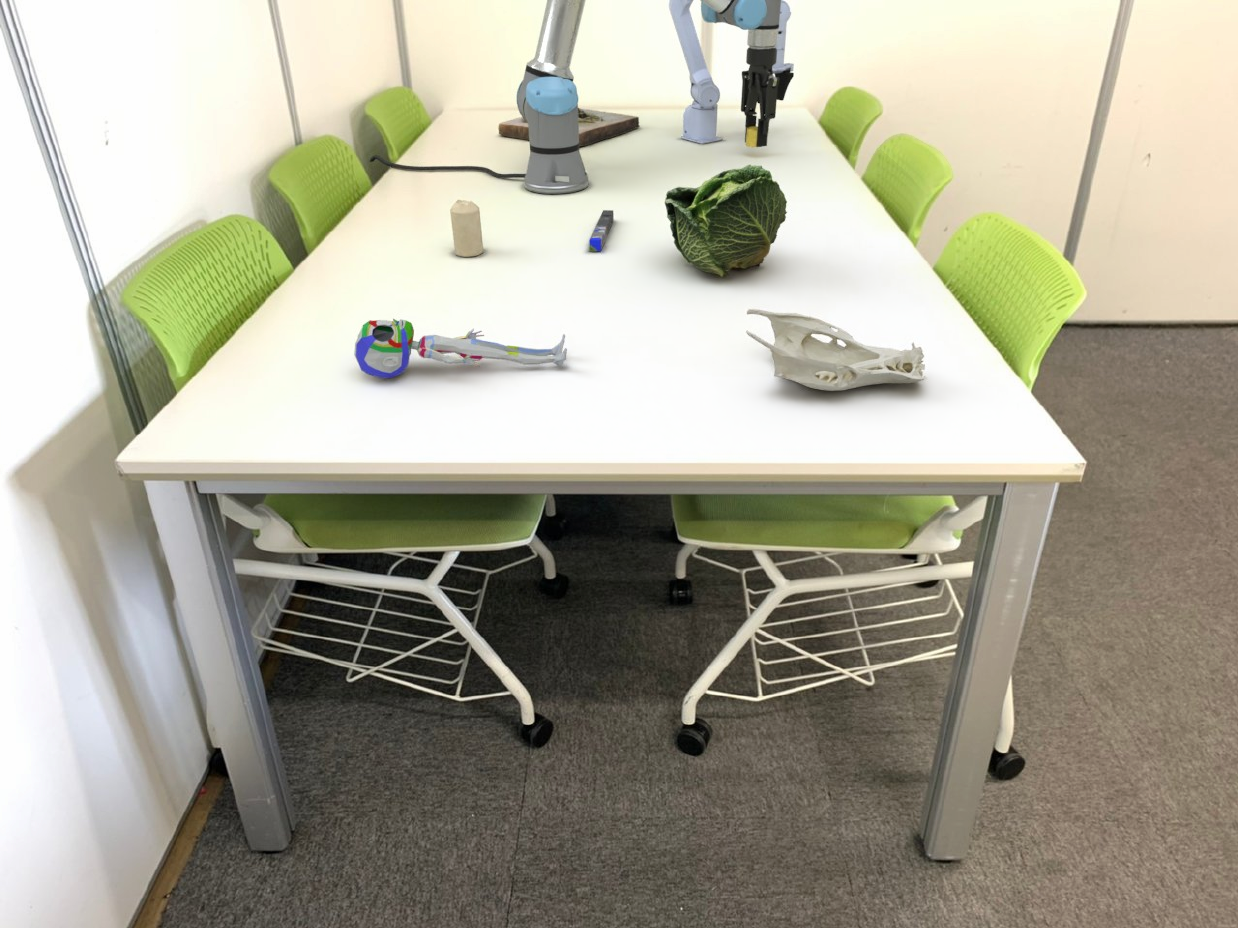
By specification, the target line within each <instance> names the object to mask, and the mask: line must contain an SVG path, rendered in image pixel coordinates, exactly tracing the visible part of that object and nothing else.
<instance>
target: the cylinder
mask: <svg viewBox="0 0 1238 928" xmlns="http://www.w3.org/2000/svg"><path fill="white" fill-rule="evenodd" d="M757 131H758V125H756V126H753V127H748V128H747V134H746V143H745V146H746V147H749V148H758V147H757Z"/></svg>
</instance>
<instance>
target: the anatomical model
mask: <svg viewBox="0 0 1238 928" xmlns="http://www.w3.org/2000/svg"><path fill="white" fill-rule="evenodd" d="M746 314H747V315H757V316H758V315H759V316H762V317H765V318H767V319H768V320H769V321H770V326H771V329H772V332H773V335H774V343H773V344H771V343H769V342H768V341H766V340H764V339H762V338H761V337H760V336H757V335H756V334H755V333H753V332H751V331H749V330H746V332H745V334H746V335H748V337H750V338H751V339H753V340H755V341H756V342H758V343H759V344H761V345H763V347H766V348H768V349H769V351H770V352H771V358H772V362H773V366H774V372H773V376H774V377H777V378H781V379H787V380H790V381H793V382H796V383H798V384H800V385H802V386H805V387H807V388H810V389H815V390H820V391H827V392H834V391H847V390H850V389H855V388H860V387H864V386H865V387H866V386H871V385H880V384H914V383H918V382H921V381H924V380H927V377H926V376H924V375H923V373H924V371H925V369H926V364H924V363H923V362H924V360H923V359H924V358H925V354H924V351H923V348H922V346H917V347H916V345H915V342H911V347H912V348H911V349H904V350H899V349H896V348H891V347H881V346H872V345H866V344H863V343H861V342H859V341H857V340H855V339H854V337H853V335H851V334H850V333H848V331H846V330H844V329H843V328H840V327H838V326H836V325H833V324H831V323H829V322H826V321H824V320H823V319H822V320H821V319H819V318H816V317H812V316H808V315H804V314H801V313H796V312H774V311H768V310H763V309H756V308H750V309H749V308H748V310H747V311H746ZM835 329H836V330H837V331H835ZM812 335H823V336H826V337H829V338H830V339H831V340H830V341H829V342H824V341H822V340H820V339H818V338H816V337H814V336H812ZM838 340H839V341H841V342H843V343H844V344H845V346H843V345H841V344H839V343H838Z"/></svg>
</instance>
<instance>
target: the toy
mask: <svg viewBox="0 0 1238 928" xmlns="http://www.w3.org/2000/svg"><path fill="white" fill-rule="evenodd" d="M474 331H475V328H472V329H471V330H469V331H468V332H467V333H466V334H465V335H463V336H458V337H449V336H448V337H447V336H442V335H439V334H428V335H423V336H421V338H420V339H419V341H417V340H414V336H415V329H414V326H413V324H412V322H410V321H408V320H407V319H399V320H397V319H395V318H392V320H387V319H379V320H368V321H367V322H365V323H364V324H362V326H361V329H360V331H359V333H358V334H357V338H356V340H355V342H354V354H353V355H354V357H355V359H356V362H357V364H358V366H359V369H360V370H361V372H364V373H366V374H367V375H370V376H373V377H377V378H382V379H383V378H384V379H392V378H394V377H396V376H398V375H400V374H401V375H402V374H403V372H404V371H405V370H406V368H407V367H408V366H409V364H410V357H411V355H412V350H415V351H417V353H418V356H419V357H421V358H422V359H430V360H434V361H438V362H442V363H444V364H449V365H458V364H459V365H461V364H465V365H471V366H477V367H479V368H480V367H481V366H482V365H483V363H482V362H478V361H480V360H482V359H487V360H488V359H489V360H503V361H509V362H514V363H517V364H520V365H528V366H529V365H542V364H550V363H553V364H555V365H557V366H559V367H562V366H563V364H564V362H565V361H566V360H567V357H568V355H567V353H568V348H566V347H565V348H564V345H565V340H566V334H565V333H563V334H562V338H561V340H560V341H559V343H558V344H556V345H555V346H554V347H552V348H533V347H532V348H531V347H523V346H518V345H517V346H516V345H504V344H501V343H498V342H494V341H488V340H482V339H478V338H479V337H480V338H481V337H485V334H480V333H482V332H483V331H482V330H479V331H476V332H474ZM563 349H564V350H563ZM453 353H455V354H457V355H459V357H458V356H455V355H448V354H453ZM445 354H447V355H445Z"/></svg>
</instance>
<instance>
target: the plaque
mask: <svg viewBox="0 0 1238 928" xmlns="http://www.w3.org/2000/svg"><path fill="white" fill-rule="evenodd" d="M578 124H579V148H580V147H584V146H588V145H591V144H594V143H598V142H600V141H603V140H606V139H611V138H614V137H616V136H621V135H623V134H626V133H628V132H631V131H632V130H635V129H638V128H640V126H641V125H640V117H639V116H636V115H630V114H622V113H617V112H609V111H608V112H607V111H601V110H595V109H589V108H581V107H580V108H579V107H578ZM498 135H500V136H503V137H507V138H514V139H521V140H527V141H529V127H528V123H527V122H526V121H525V120H524V119H523V117H522V116H519V117H515V118H513V119H508V120H506V121H502V122H500V123H498Z"/></svg>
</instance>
